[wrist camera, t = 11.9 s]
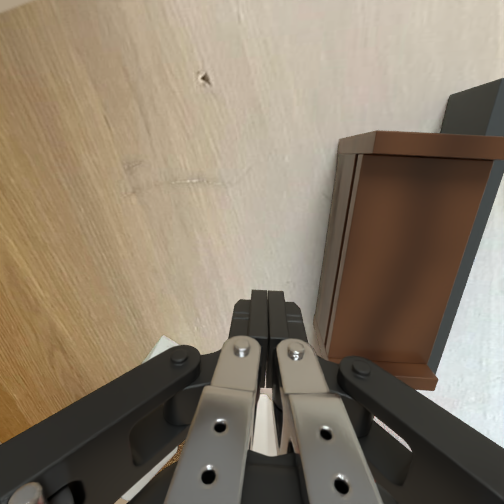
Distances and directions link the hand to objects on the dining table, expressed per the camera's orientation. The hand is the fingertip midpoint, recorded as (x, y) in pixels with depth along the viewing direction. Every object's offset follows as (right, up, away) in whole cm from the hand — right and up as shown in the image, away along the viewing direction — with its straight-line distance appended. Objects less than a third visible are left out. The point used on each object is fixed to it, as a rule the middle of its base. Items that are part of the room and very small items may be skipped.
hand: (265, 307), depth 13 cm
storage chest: (+10, +3, +12) cm, 16 cm away
